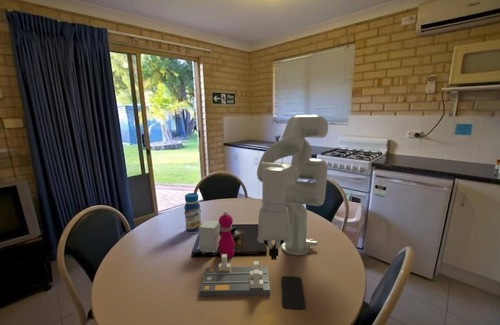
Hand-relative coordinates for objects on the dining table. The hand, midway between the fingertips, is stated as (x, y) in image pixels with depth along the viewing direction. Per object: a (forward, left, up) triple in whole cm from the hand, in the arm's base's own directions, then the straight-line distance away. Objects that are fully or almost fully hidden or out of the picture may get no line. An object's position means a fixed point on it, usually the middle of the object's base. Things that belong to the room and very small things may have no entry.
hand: (273, 257), depth 80 cm
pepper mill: (+18, -24, -14) cm, 33 cm away
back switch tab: (+18, -10, -11) cm, 23 cm away
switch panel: (+13, -5, -14) cm, 20 cm away
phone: (-7, 0, -14) cm, 16 cm away
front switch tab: (+6, -1, -11) cm, 13 cm away
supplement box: (+26, -28, -14) cm, 41 cm away
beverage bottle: (+38, -47, -14) cm, 62 cm away
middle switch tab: (+6, -5, -11) cm, 14 cm away
